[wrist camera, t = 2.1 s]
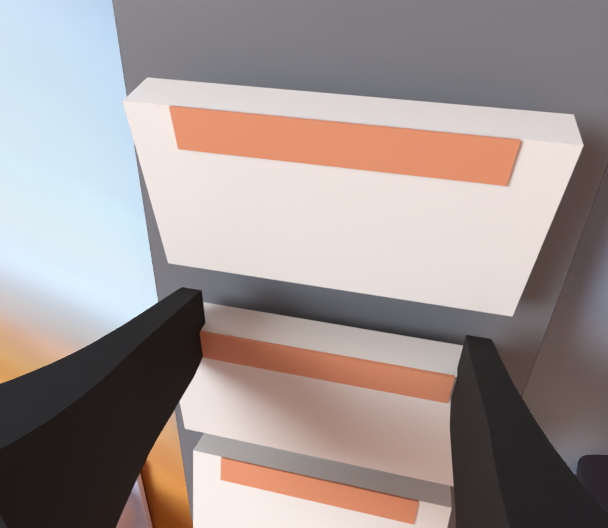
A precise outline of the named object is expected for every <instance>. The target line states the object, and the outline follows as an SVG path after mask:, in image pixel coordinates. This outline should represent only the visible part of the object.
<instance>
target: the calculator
mask: <svg viewBox="0 0 608 528" xmlns="http://www.w3.org/2000/svg"><path fill="white" fill-rule="evenodd" d="M576 477H577V478H578V480H579V481H580V482H581V483H582V484H583V486H584V487H585V488H586V489H587V490H588V491H589V493H590V494H591V495H592V496H593V497H594V498H595V499H596V500H597V501H598V502H599V504H600V505H601V506H602V507H603V508H604V509H605V510H606V511H607V512H608V456H607V455H586V456H583V457H582V458H580V459H579V461H578V466H577V475H576Z"/></svg>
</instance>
